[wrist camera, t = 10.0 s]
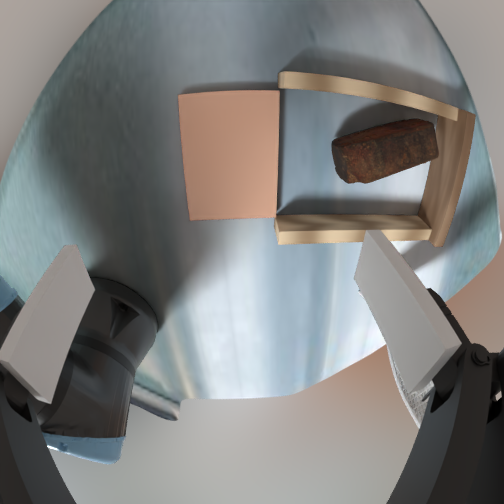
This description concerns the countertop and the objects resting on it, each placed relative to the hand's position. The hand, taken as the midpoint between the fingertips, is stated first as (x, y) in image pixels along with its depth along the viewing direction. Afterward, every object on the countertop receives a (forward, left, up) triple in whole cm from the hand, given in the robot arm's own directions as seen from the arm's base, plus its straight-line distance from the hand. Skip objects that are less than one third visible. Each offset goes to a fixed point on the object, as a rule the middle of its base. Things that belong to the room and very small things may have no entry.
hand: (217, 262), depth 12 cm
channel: (+14, 0, -17) cm, 22 cm away
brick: (+14, 0, -17) cm, 22 cm away
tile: (0, 0, -17) cm, 17 cm away
